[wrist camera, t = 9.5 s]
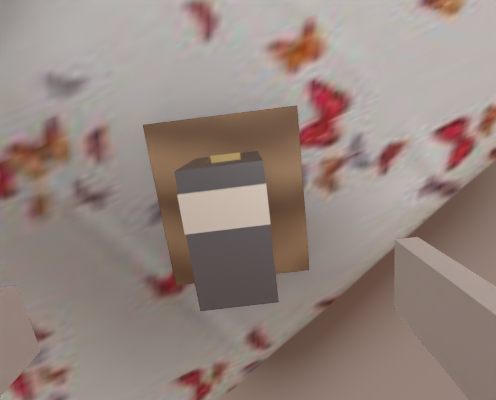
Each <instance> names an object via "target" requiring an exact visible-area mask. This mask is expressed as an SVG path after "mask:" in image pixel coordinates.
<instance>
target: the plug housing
mask: <svg viewBox="0 0 496 400" xmlns="http://www.w3.org/2000/svg"><path fill="white" fill-rule="evenodd" d="M174 174H175V179H176V185H177V190H178V195H177V197H178V202H179V207H180V213H181V218H182V223H183V228H184V234H185V235H186V237H187V243H188V248H189V253H190V259H191V264H192V269H193V275H194V280H195V285H196V290H197V296H198V301H199V306H200V311H206V310H214V309H223V308H232V307H240V306H249V305H257V304H266V303H275V302H278V292H277V283H276V274H275V265H274V256H273V247H272V237H271V228H270V224H271V223H270V214H269V205H268V196H267V187H266V182H265V173H264V164H263V159H262V158H261V156H260V154H259V153H258V151H253V152H245V153H242V159H241V160H233V161H225V162H217V163H211V160H210V157H205V158H197V159H194V160H192V161H191V162H189V163H187V164H186V165H184V166H182V167H181V168H179V169H177V170H176V171H174Z"/></svg>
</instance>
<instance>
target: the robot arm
mask: <svg viewBox="0 0 496 400" xmlns="http://www.w3.org/2000/svg"><path fill="white" fill-rule="evenodd" d="M394 275H395V276H394V310H395V311H396V312H397V313H398V315H399V316H400V317H401V318H402V319H403V321H404V322H405V323H406V324H407V325H408V327H409V328H410V329H411V330H412V331H413V333H414V334H415V335H416V336H417V338H418V339H419V340H420V341H421V342H422V344H423V345H424V346H425V347H426V348H427V350H428V351H429V352H430V353H431V354H432V356H433V357H434V358H435V359H436V361H437V362H438V363H439V364H440V365H441V367H442V368H443V369H444V370H445V371H446V373H447V374H448V375H449V376H450V377H451V379H452V380H453V381H454V382H455V383H456V385H457V386H458V387H459V388H460V389H461V391H462V392H463V393H464V394H465V396H466V397H467V398H468V399H469V400H496V287H495V286H494V285H492V284H491V283H489V282H487V281H486V280H484V279H482V278H481V277H480V276H478V275H476V274H475V273H473V272H472V271H470V270H468V269H467V268H465V267H464V266H462V265H461V264H459V263H457V262H456V261H454V260H453V259H451V258H450V257H448V256H446V255H445V254H443V253H442V252H440V251H439V250H437V249H435V248H434V247H432V246H431V245H429V244H428V243H426V242H424V241H423V240H421V239H420V238H418V237H414V238H406V239H397V240H395V274H394ZM40 352H41V350H40V347H39V344H38V342H37V339H36V336H35V334H34V331H33V329H32V326H31V323H30V321H29V318H28V315H27V313H26V310H25V307H24V305H23V302H22V299H21V297H20V294H19V292H18V289H17V286H9V287H1V288H0V397H1V395H2V394H3V393H4V392H5V391H6V390H7V389H8V388H9V386H10V385H11V384H12V383H13V382H14V381H15V380H16V379H17V377H18V376H19V375H20V374H21V373H22V372H23V371H24V370H25V368H26V367H27V366H28V365H29V364H30V363H31V362H32V361H33V359H34V358H35V357H36V356H37V355H38V354H39V353H40Z"/></svg>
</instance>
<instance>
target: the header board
mask: <svg viewBox="0 0 496 400" xmlns="http://www.w3.org/2000/svg"><path fill="white" fill-rule="evenodd" d="M143 128H144V133H145V138H146V143H147V147H148V152H149V157H150V162H151V167H152V172H153V176H154V181H155V186H156V191H157V196H158V201H159V205H160V210H161V215H162V220H163V225H164V230H165V234H166V239H167V244H168V249H169V254H170V259H171V263H172V268H173V273H174V278H175V283H176V285H184V284H192V283H195V280H194V275H193V269H192V264H191V259H190V253H189V248H188V243H187V237H186V235H185V234H184V228H183V223H182V218H181V213H180V207H179V202H178V197H177V195H178V190H177V185H176V179H175V174H174V171H176V170H177V169H179V168H181V167H182V166H184V165H186V164H187V163H189V162H191V161H192V160H194V159H197V158H205V157H210V160H211V163H217V162H225V161H233V160H241V159H242V153H245V152H253V151H258V153H259V154H260V156H261V158H262V159H263V164H264V173H265V182H266V187H267V196H268V205H269V214H270V223H271V224H270V228H271V237H272V247H273V256H274V265H275V274H278V273H287V272H295V271H304V270H309V259H308V245H307V232H306V219H305V205H304V192H303V178H302V165H301V152H300V138H299V125H298V112H297V106H289V107H282V108H274V109H266V110H258V111H250V112H242V113H234V114H226V115H218V116H210V117H203V118H195V119H187V120H179V121H171V122H163V123H155V124H147V125H143Z"/></svg>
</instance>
